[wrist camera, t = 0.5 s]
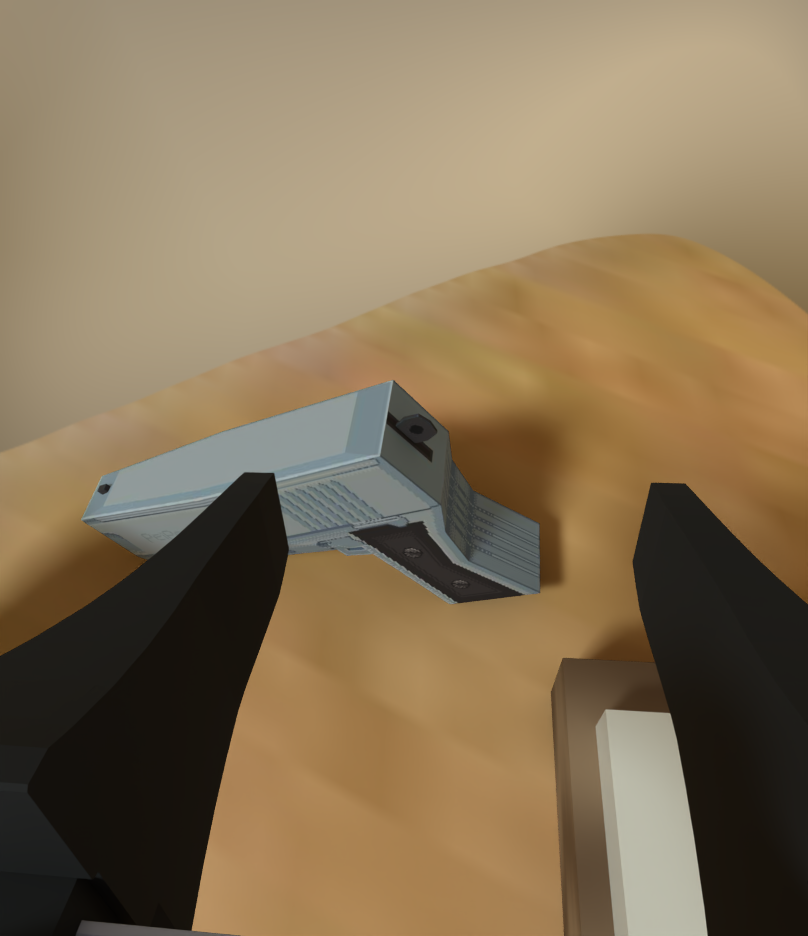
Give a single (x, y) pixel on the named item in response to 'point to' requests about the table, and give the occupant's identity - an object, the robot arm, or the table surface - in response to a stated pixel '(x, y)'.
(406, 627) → the table surface
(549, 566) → the table surface
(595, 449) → the table surface
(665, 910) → the cream flat block
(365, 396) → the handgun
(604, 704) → the brown flat block
